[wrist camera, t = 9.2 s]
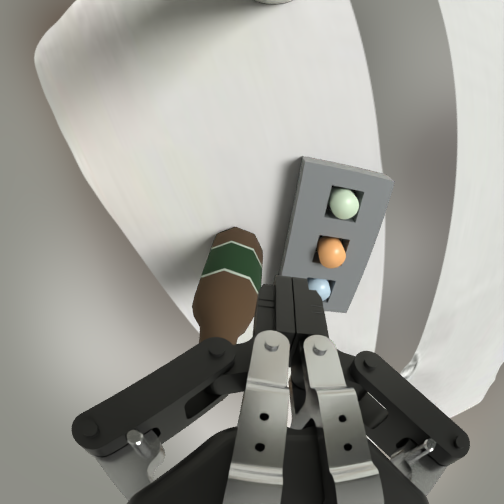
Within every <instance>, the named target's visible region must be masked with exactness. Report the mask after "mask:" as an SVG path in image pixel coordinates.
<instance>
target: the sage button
mask: <svg viewBox="0 0 504 504" xmlns="http://www.w3.org/2000/svg"><path fill="white" fill-rule="evenodd" d="M328 203H329V206H330V208H331V210H332V212H333V214H334V215H335V216H336V217H338V218H340V219H349V218H351V217H353V216H354V215H355V214H356V213H357V211H358V208H359V202H358V199H357V198H356V196H355V195H354V194H353V192H352V191H351V190H350V189H349V188H344V187H339V186H335V187H333V188H332V189H331V191H330V195H329V199H328Z"/></svg>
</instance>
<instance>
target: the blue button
mask: <svg viewBox="0 0 504 504" xmlns="http://www.w3.org/2000/svg"><path fill="white" fill-rule="evenodd" d="M307 281H308V287H309V290H316V291H317V292H318V294H319V295H320V296H321V298H322V301H324V300H326V299H327V298H328V297H329V296H330V292H331V291H330V286H329V282H328V280H326V279H318V278H310V277H308V278H307Z"/></svg>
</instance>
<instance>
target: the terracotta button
mask: <svg viewBox="0 0 504 504" xmlns="http://www.w3.org/2000/svg"><path fill="white" fill-rule="evenodd" d="M317 251H318V255H319V259H320V262H321V264H322V265H323V266H324V267H326V268H336V267H339V266H340V265H341V264H342V263H343V262H344V261H345V258H346V253H345V250H344V248H343V245H342V243H341V240H340V239H339V238H336V237H330V236H323V237H321V238H320V239H319V241H318V243H317Z"/></svg>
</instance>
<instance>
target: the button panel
mask: <svg viewBox="0 0 504 504" xmlns="http://www.w3.org/2000/svg"><path fill="white" fill-rule="evenodd" d="M394 182H395V181H394V180H392V179H391V178H390V177H389V176H387V175H385V174H382V173H378V172H374V171H370V170H366V169H362V168H358V167H353V166H349V165H344V164H340V163H335V162H330V161H325V160H320V159H315V158H310V157H304V156H303V157H302V162H301V167H300V173H299V178H298V183H297V189H296V194H295V199H294V204H293V209H292V214H291V219H290V224H289V229H288V234H287V238H286V243H285V248H284V253H283V257H282V262H281V267H280V271H279V275H282V276H290V277H298V278H306V279H307V278H308V277H310V278H318V279H326V280H329V281H328V282H329V286H330V291H331V292H330V296H329V297H328V298H327V299H326V300H324V301H322V302H323V308H324V311H331V312H342V313H346V312H347V310H348V308H349V306H350V304H351V301H352V299H353V297H354V294H355V292H356V290H357V287H358V285H359V282H360V280H361V278H362V275H363V273H364V270H365V268H366V265H367V263H368V260H369V257H370V255H371V252H372V249H373V247H374V244H375V241H376V238H377V236H378V233H379V230H380V227H381V224H382V221H383V218H384V215H385V212H386V208H387V206H388V203H389V199H390V196H391V193H392V190H393V186H394ZM332 185H334V186H339V187H344V188H349V189H353V190H356V194H355V196H356V198H357V199H358V202H359V208H358V211H357V213H356V214H355V215H354V216H353V217H351V218H349V219H340V218H338V217H336V216H335V215H334V214H333V212H332V210H329V209H326V208H327V204H328V199H329V195H330V191H331V187H332ZM319 235H323V236H330V237H336V238H342V242H341V243H342V245H343V248H344V250H345V253H346V258H345V261H344V262H343V263H342V264H341V265H340V266H339V267H336V268H326V267H324V266H323V265H322V264H321V262H320V259H319V255H318V252H315V250H316V246H317V242H318V239H319Z"/></svg>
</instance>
